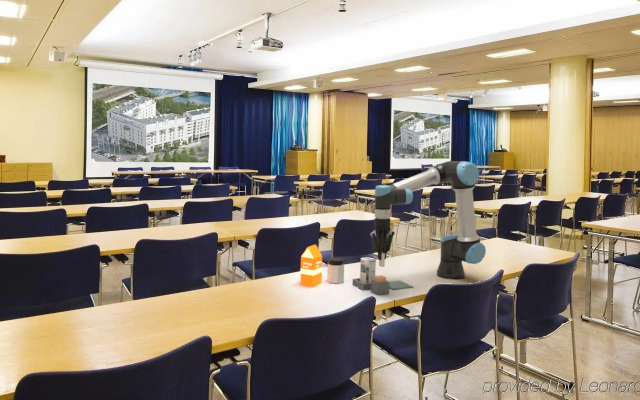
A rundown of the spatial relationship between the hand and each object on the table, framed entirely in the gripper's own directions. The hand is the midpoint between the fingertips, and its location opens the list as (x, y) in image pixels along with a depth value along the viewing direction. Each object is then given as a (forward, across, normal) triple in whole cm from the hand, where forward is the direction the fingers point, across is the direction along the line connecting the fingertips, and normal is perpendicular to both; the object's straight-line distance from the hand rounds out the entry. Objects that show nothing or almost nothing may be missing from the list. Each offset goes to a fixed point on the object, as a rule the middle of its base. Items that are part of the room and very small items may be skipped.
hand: (381, 266), depth 233 cm
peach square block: (+9, -1, 0) cm, 9 cm away
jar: (+13, -12, +26) cm, 31 cm away
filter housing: (+13, -1, +7) cm, 15 cm away
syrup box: (+13, -1, +12) cm, 18 cm away
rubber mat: (+14, +14, +8) cm, 21 cm away
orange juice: (+13, -26, +26) cm, 39 cm away
